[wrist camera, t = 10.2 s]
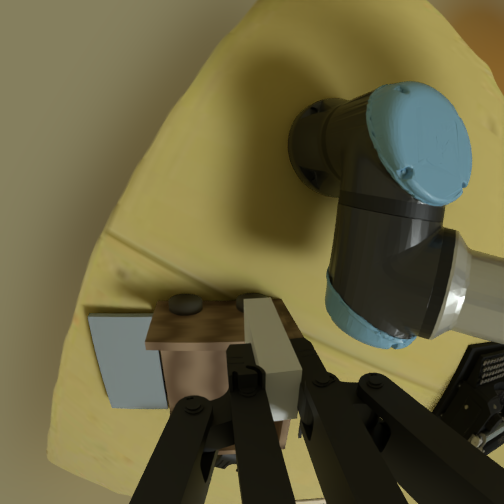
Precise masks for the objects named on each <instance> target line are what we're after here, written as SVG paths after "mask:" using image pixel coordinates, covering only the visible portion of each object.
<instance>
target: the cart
mask: <svg viewBox="0 0 504 504" xmlns="http://www.w3.org/2000/svg"><path fill="white" fill-rule="evenodd" d="M254 298H268V297H267V296H265V295H262V294H257V293H247V294H242V295H240V296H238V297H237V299H236V300H235V301H202V298H201V297H199V296H197V295H193V294H179V295H175V296H173V297H171V298H170V299H169V301H157V304H156V307H155V310H154V313H153V316H152V319H151V323H150V326H149V329H148V332H147V336H146V339H145V347H146V350H158V351H161V357H162V364H163V371H164V378H165V384H166V390H167V396H168V402H169V407H170V415H171V413H172V411H173V409H174V407H175V405H176V403H177V402H178V401H179V400H180V399H182V398H184V397H186V396H190V395H199V396H202V397H205V398H207V399H208V400H210V401H211V400H214V399H217V398H220V397H221V396H223V395H224V394H225V393H226V392H227V390H228V388H229V385H228V374H227V360H226V350H227V348H228V347H229V345H230V344H245V333H244V299H254ZM272 302H273V304H274V306H275V308H276V311H277V313H278V315H279V318H280V320H281V322H282V324H283V327H284V329H285V331H286V333H287V336H288V338H289V339H293V338H302V337H303V335H302V333H301V331H300V330H299V328H298V326H297V325H296V323H295V321H294V320H293V318H292V316H291V315H290V313H289V311H288V309H287V308H286V306H285V304H284V303H283V301H282V299H272ZM290 420H291V419H288V420H281V421H274V424H275V428H276V432H277V436H278V439H279V443H280V447H281V449H285V445H286V440H287V435H288V430H289V425H290ZM225 454H236V453H235V445H231V446H228V447H225V448H222V449H219V450H218V455H225Z"/></svg>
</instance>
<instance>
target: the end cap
mask: <svg viewBox="0 0 504 504" xmlns="http://www.w3.org/2000/svg"><path fill="white" fill-rule="evenodd" d="M231 464H237V461H236V454H225V455H217V459H216V462H215V466H214V467H218V468H222V469H225V468H226V467H227V466H228V465H231ZM236 471H237V472H238V469H236Z"/></svg>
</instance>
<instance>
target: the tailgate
mask: <svg viewBox="0 0 504 504" xmlns="http://www.w3.org/2000/svg"><path fill="white" fill-rule="evenodd" d="M152 316H153V313H143V314H108V313H89V315H88V321H89V326H90V330H91V335H92V339H93V344H94V348H95V352H96V356H97V360H98V363H99V367H100V371H101V374H102V378H103V381H104V384H105V388H106V391H107V394H108V397H109V400H110V403H111V406H112V408H127V409H168V403H167V398H166V392H165V386H164V380H163V374H162V367H161V361H160V353H159V351H158V350H146V347H145V339H146V336H147V332H148V329H149V326H150V323H151V319H152Z"/></svg>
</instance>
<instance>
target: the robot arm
mask: <svg viewBox="0 0 504 504" xmlns="http://www.w3.org/2000/svg"><path fill="white" fill-rule="evenodd" d="M288 152H289V157H290V161H291V164H292V166H293V168H294V170H295V172H296V174H297V175H298V177H299V178H300V179H301V180H302V181H303V182H304V183H305V184H306V185H307V186H308V187H309V188H311V189H312V190H314V191H316V192H318V193H320V194H323V195H326V196H331V197H337V198H339V202H338V207H337V216H336V224H335V232H334V239H333V246H332V252H331V258H330V264H329V267H328V269H327V273H326V278H327V288H326V296H325V305H326V309H327V312H328V313H329V315H330V316H331V318H332V320H333V322H334V323H335V324H336V325H337V326H338V327H339V328H340V329H341V330H342V331H344V332H345V333H346V334H348V335H349V336H351V337H352V338H354V339H356V340H358V341H360V342H362V343H365V344H367V345H370V346H373V347H377V348H382V349H389V348H390V347H392V348H394V349H401V348H404V347H407V346H408V345H410V344H411V343H412V341H414V340H415V339H416V337H417V336H419V337H422V338H426V339H430V340H432V339H434V338H436V337H437V336H439V335H441V334H442V333H444V332H446V331H449V330H452V331H456V332H459V333H463V334H467V335H470V336H474V337H478V338H481V339H485V340H489V341H492V342H496V343H500V344H504V258H501V257H497V256H494V255H490V254H486V253H483V252H479V251H475V250H472V249H470V248H469V247H468V246H467V245H466V243H465V241H464V240H463V238H462V236H461V235H460V233H459V231H456V230H453V229H448V228H444V227H443V218H444V211H445V205H447V204H449V203H451V202H453V201H455V200H456V199H457V198H459V197H460V196H461V194H462V193H463V190H462V188H465V187H467V185H468V182H469V179H470V175H471V169H472V152H471V145H470V140H469V136H468V133H467V130H466V128H465V125H464V123H463V121H462V119H461V118H460V117H459V116H458V114H457V112H456V110H455V108H454V106H453V105H452V104H451V103H450V102H449V100H448V99H447V98H446V97H445V96H443V95H442V94H441V93H440V92H438V91H437V90H436V89H434V88H432V87H430V86H428V85H426V84H423V83H420V82H414V81H406V82H400V83H395V84H389V85H388V84H386V85H382V86H380V87H378V88H377V89H375V90H374V91H372V92H369V93H367V94H364V95H362V96H359V97H357V98H355V99H352V100H350V101H349V100H345V99H339V98H329V99H324V100H320V101H318V102H315V103H313V104H312V105H310V106H308V107H307V108H305V109H304V110H303V111H302V112H301V113H300V114H299V115H298V116H297V117H296V119H295V120H294V122H293V124H292V126H291V129H290V133H289V138H288ZM244 333H245V344H230V345H229V347H228V348H227V350H226V360H227V374H228V385H229V388H228V390H227V392H226V393H225V394H224V395H223V396H221V397H220V398H217V399H214V400H211V401H210V400H208V399H207V398H205V397H202V396H199V395H190V396H186V397H184V398H182V399H180V400H179V401H178V402H177V403H176V405H175V407H174V409H173V411H172V413H171V415H170V418H169V420H168V422H167V424H166V426H165V428H164V430H163V432H162V435H161V437H160V439H159V441H158V443H157V445H156V447H155V449H154V452H153V454H152V456H151V458H150V460H149V462H148V464H147V466H146V469H145V471H144V473H143V475H142V477H141V479H140V481H139V484H138V486H137V488H136V490H135V492H134V494H133V496H132V499H131V501H130V503H129V504H204V502H205V499H206V495H207V492H208V488H209V484H210V481H211V477H212V473H213V470H214V466H215V462H216V459H217V455H218V450H219V449H222V448H225V447H228V446H231V445H235V453H236V461H237V469H238V477H239V485H240V492H241V500H242V504H296V502H295V498H294V495H293V491H292V487H291V484H290V480H289V476H288V473H287V469H286V465H285V462H284V458H283V454H282V451H281V447H280V443H279V439H278V436H277V432H276V428H275V424H274V421H281V420H288V419H295V418H297V413H298V411H299V414H300V417H301V419H300V426H299V433H298V438H301V435H302V434H303V437H304V440H305V443H306V446H307V449H308V452H309V455H310V458H311V461H312V463H313V466H314V469H315V472H316V475H317V478H318V481H319V484H320V486H321V489H322V492H323V495H324V498H325V501H326V504H408V502H407V500H406V498H405V497H404V495H403V493H402V491H401V489H400V487H399V486H398V484H399V485H400V486H401V487H402V488H403V489H404V490H405V491H406V492H407V493H408V494H409V495H410V496H411V497H412V498H413V499H414V500H415V501H416V502H417V503H418V504H504V468H503V467H501V466H500V465H499V464H497V463H496V462H495V461H493V460H492V459H491V458H489V457H488V456H487V455H486V454H484V453H483V452H482V451H480V450H479V449H478V448H476V447H475V446H474V445H473V444H471V443H470V442H469V441H467V440H466V439H465V438H464V437H462V436H461V435H460V434H458V433H457V432H456V431H455V430H453V429H452V428H451V427H449V426H448V425H447V424H446V423H444V422H443V421H442V420H440V419H439V418H438V417H437V416H435V415H434V414H433V413H432V412H430V411H429V410H428V409H427V408H425V407H424V406H423V405H421V404H420V403H419V402H418V401H416V400H415V399H414V398H413V397H411V396H410V395H409V394H408V393H406V392H405V391H404V390H403V389H401V388H400V387H399V386H398V385H396V384H395V383H394V382H392V381H391V380H390V379H389V378H387V377H386V376H384V375H382V374H379V373H368V374H364V375H363V376H361V378H360V379H359V382H358V383H356V382H341V381H339V379H338V378H337V377H336V376H335V375H333V374H332V373H329V372H327V371H326V369H325V367H324V365H323V364H322V362H321V360H320V358H319V356H318V355H317V353H316V351H315V350H314V347H313V345H312V344H311V342H310V341H308V340H307V339H305V338H304V337H302V338H293V339H289V338H288V336H287V333H286V331H285V329H284V327H283V324H282V322H281V320H280V318H279V315H278V313H277V311H276V308H275V306H274V304H273V302H272V299H271V297H269V298H254V299H244ZM381 418H382V419H383V420H382V419H381ZM397 483H398V484H397Z"/></svg>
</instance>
